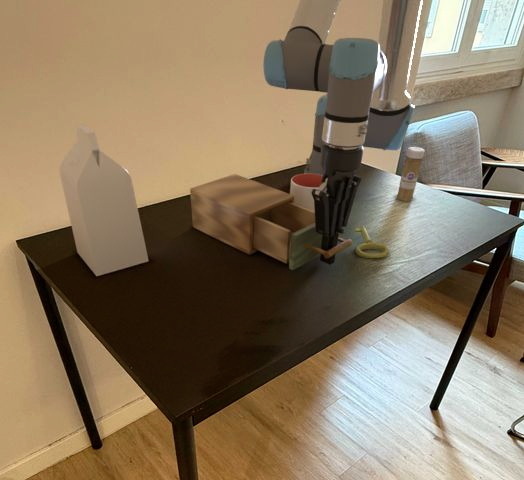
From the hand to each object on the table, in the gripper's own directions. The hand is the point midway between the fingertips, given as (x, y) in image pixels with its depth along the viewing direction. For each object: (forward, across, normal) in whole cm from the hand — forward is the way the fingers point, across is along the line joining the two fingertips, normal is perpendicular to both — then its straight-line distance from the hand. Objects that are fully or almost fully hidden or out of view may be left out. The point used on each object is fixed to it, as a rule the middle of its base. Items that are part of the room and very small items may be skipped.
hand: (327, 261), depth 95 cm
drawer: (+1, 0, +10) cm, 10 cm away
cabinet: (+2, 0, +26) cm, 26 cm away
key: (+2, +15, 0) cm, 16 cm away
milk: (+2, -30, +36) cm, 47 cm away
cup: (+2, +17, +19) cm, 26 cm away
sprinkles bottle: (+2, +48, +9) cm, 49 cm away
